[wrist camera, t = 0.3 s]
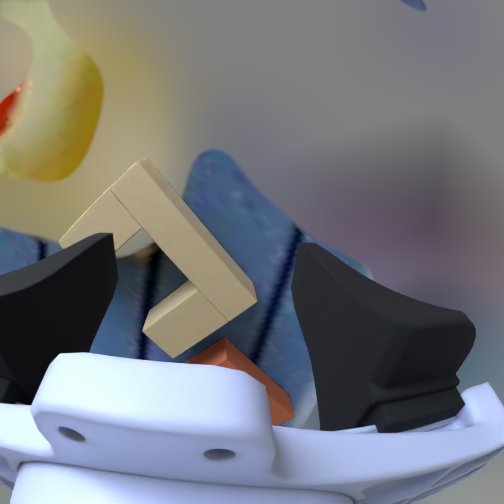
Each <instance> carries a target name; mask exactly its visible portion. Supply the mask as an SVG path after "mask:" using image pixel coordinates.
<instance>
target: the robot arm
mask: <svg viewBox="0 0 504 504" xmlns="http://www.w3.org/2000/svg"><path fill="white" fill-rule="evenodd" d="M118 279H119V277H118V270H117V263H116V255H115V247H114V238H113V233H101V232H99V233H96V234H93V235H91V236H88V237H86V238H84V239H82V240H80V241H78V242H76V243H74V244H72V245H71V246H69V247H67V248H65V249H63V250H61V251H59V252H57V253H55V254H53V255H51V256H49V257H47V258H45V259H43V260H41V261H38V262H36V263H34V264H31V265H29V266H26V267H24V268H21V269H18V270H15V271H12V272H9V273H6V274H2V275H0V484H2V485H4V486H6V487H8V488H10V489H12V490H13V493H12V497H11V501H10V504H412V503H414V502H417V501H419V500H421V499H424V498H426V497H428V496H430V495H432V494H435V493H437V492H439V491H441V490H443V489H445V488H447V487H450V486H452V485H454V484H456V483H458V482H460V481H462V480H464V479H465V478H467V477H469V476H471V475H473V474H475V473H476V472H478V471H479V470H480V469H481V468H483V467H484V466H485V465H486V464H488V463H489V462H490V461H491V460H493V459H494V458H495V457H496V456H497V455H498V454H500V453H501V452H502V451H503V450H504V406H503V405H502V403H501V402H500V400H499V398H498V397H497V395H496V393H495V392H494V390H493V389H492V387H491V386H490V384H489V383H487V382H486V383H483V384H480V385H477V386H474V387H471V388H468V389H466V390H464V391H463V392H462V393H459V392H458V390H457V388H456V386H457V385H458V384H459V379H458V377H457V376H456V372H457V371H458V369H459V368H460V366H461V365H462V363H463V362H464V360H465V359H466V357H467V355H468V354H469V352H470V350H471V348H472V346H473V343H474V340H475V337H476V329H475V327H474V325H473V323H472V322H471V321H470V320H469V318H468V317H467V316H466V315H465V314H464V313H463V312H462V311H457V310H453V309H448V308H443V307H438V306H435V305H431V304H428V303H424V302H421V301H418V300H415V299H413V298H410V297H407V296H405V295H402V294H400V293H397V292H395V291H393V290H391V289H388V288H386V287H384V286H382V285H380V284H378V283H376V282H375V281H373V280H371V279H369V278H367V277H366V276H364V275H362V274H361V273H359V272H358V271H356V270H354V269H353V268H351V267H350V266H348V265H347V264H345V263H344V262H342V261H341V260H340V259H338V258H337V257H335V256H334V255H332V254H331V253H330V252H328V251H327V250H325V249H324V248H322V247H321V246H319V245H317V244H315V243H302V242H299V247H298V252H297V258H296V263H295V269H294V274H293V279H292V285H291V290H292V296H293V302H294V308H295V311H296V314H297V317H298V321H299V324H300V327H301V330H302V333H303V336H304V339H305V342H306V345H307V348H308V352H309V356H310V359H311V364H312V370H313V375H314V381H315V388H316V395H317V402H318V410H319V418H320V430H321V431H317V430H307V429H297V428H289V427H281V426H273V425H272V421H271V413H270V406H269V400H268V396H267V392H266V388H265V385H263V384H262V383H260V382H259V381H257V380H256V379H255V378H253V377H252V376H250V375H249V374H247V373H246V372H244V371H240V370H235V369H230V368H225V367H220V366H215V365H201V364H184V363H171V362H159V361H148V360H139V359H130V358H121V357H114V356H106V355H99V354H93V353H89V351H90V348H91V345H92V343H93V340H94V338H95V335H96V333H97V331H98V329H99V326H100V324H101V322H102V320H103V318H104V316H105V313H106V311H107V309H108V307H109V305H110V303H111V300H112V298H113V295H114V292H115V289H116V285H117V282H118Z"/></svg>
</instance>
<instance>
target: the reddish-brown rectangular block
mask: <svg viewBox="0 0 504 504" xmlns="http://www.w3.org/2000/svg"><path fill="white" fill-rule="evenodd" d="M187 364H201V365H215V366H220V367H225V368H230V369H235V370H240V371H244V372H246V373H247V374H249V375H250V376H252V377H253V378H255V379H256V380H257V381H259V382H260V383H262V384H263V385H265V388H266V392H267V396H268V400H269V406H270V413H271V421H272V425H273V426H278V425H280V424H282V423H283V422H285V421H287V420H289V419H291V418H293V417H295V414H294V411H293V407H292V404H291V400H290V397H289V394H287V393H286V392H285V391H284V390H283V389H282V388H281V387H279V386H278V385H277V384H276V383H275V382H274V381H273V380H271V379H270V378H269V377H268V376H267V375H266V374H265V373H264V372H263V371H261V370H260V369H259V368H258V367H257V366H256V365H255V364H254V363H253V362H252V361H251V360H249V359H248V358H247V357H246V356H245V355H244V354H243V353H242V352H241V351H240V350H239V349H238V348H237V347H236V346H234V345H233V344H232V343H231V342H230V341H229V340H228V339H227V338H226V337H223V338H222V339H220V340H219V341H217V342H216V343H214V344H213V345H211V346H210V347H208V348H207V349H205V350H204V351H202V352H201V353H199V354H197V355H196V356H194V357H193V358H191V359H190V360H188V361H187Z"/></svg>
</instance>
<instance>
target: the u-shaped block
mask: <svg viewBox="0 0 504 504" xmlns="http://www.w3.org/2000/svg"><path fill="white" fill-rule="evenodd" d="M141 228H143V229H144V230H145V231H146V232H147V233H148V234H149V236H150V237H151V238H152V239H153V240H154V241H155V242H156V244H157V245H158V246H159V247H160V248H161V249H162V250H163V251H164V253H165V254H166V255H167V256H168V257H169V258H170V259H171V260H172V261H173V263H174V264H175V265H176V266H177V267H178V268H179V269H180V270H181V271H182V272H183V273H184V274H185V276H186V277H187V278H188V279H189V280H188V281H187V282H185V283H184V284H183V285H182V286H180V287H179V288H178V289H176V290H175V291H174V292H172V293H171V294H170V295H169V296H167V297H166V298H165V299H163V300H162V301H161V302H159V303H158V304H157V305H156V306H154V307H153V308H152V309H150V310H149V313H148V316H147V319H146V321H145V324H144V327H143V332H144V333H145V334H146V335H147V336H148V337H149V338H150V339H151V340H152V341H153V342H154V343H156V344H157V345H158V346H159V347H160V348H161V349H162V350H163V351H165V352H166V353H167V354H168V355H169V356H170V357H171V358H173V359H174V358H175V357H177V356H178V355H180V354H181V353H183V352H184V351H186V350H187V349H189V348H190V347H192V346H193V345H195V344H196V343H198V342H199V341H201V340H202V339H204V338H205V337H207V336H208V335H210V334H211V333H213V332H214V331H216V330H217V329H219V328H220V327H222V326H223V325H225V324H226V323H228V322H229V321H231V320H232V319H233V318H235V317H236V316H238V315H239V314H241V313H242V312H244V311H245V310H246V309H248V308H249V307H251V306H252V305H254V304H255V303H257V297H256V293H255V290H254V286H253V282H252V281H251V280H250V279H249V277H248V276H247V275H246V274H245V273H244V272H243V271H242V269H241V268H240V267H239V266H238V265H237V264H236V262H235V261H234V260H233V259H232V258H231V257H230V255H229V254H228V253H227V252H226V251H225V249H224V248H223V247H222V246H221V245H220V244H219V242H218V241H217V240H216V239H215V238H214V237H213V235H212V234H211V233H210V232H209V231H208V229H207V228H206V227H205V226H204V225H203V223H202V222H201V221H200V220H199V219H198V218H197V216H196V215H195V214H194V213H193V212H192V210H191V209H190V208H189V207H188V206H187V204H186V203H185V202H184V201H183V200H182V198H181V197H180V196H179V195H178V194H177V193H176V191H175V190H174V189H173V188H172V186H171V185H170V184H169V183H168V182H167V180H166V179H165V178H164V177H163V176H162V174H161V173H160V172H159V171H158V170H157V168H156V167H155V166H154V165H153V163H152V162H151V161H150V160H149V159H144V160H141V161H137V162H136V163H135V164H134V165H133V166H132V167H131V168H129V169H128V170H127V171H126V172H125V173H124V174H123V175H122V176H121V177H120V178H119V179H118V180H117V181H116V182H114V184H112V185H111V186H110V188H109V189H107V190H106V191H105V192H104V193H103V194H102V195H101V196H100V197H99V198H98V199H97V200H96V201H95V202H94V204H92V205H91V207H90V208H89V209H88V210H87V211H86V212H85V213H84V214H83V215H82V216H81V217H80V218H79V219H78V220H77V221H76V223H75V224H74V225H73V226H72V227H71V228H70V229H69V230H68V231H67V233H66V234H65V235H64V236H63V237H62V238H61V239H60V240H59V242H58V243H59V245H60V246H61V247H62V248H63V249H65V248H67V247H69V246H71V245H72V244H74V243H76V242H78V241H80V240H82V239H84V238H86V237H88V236H91V235H93V234H96V233H99V232H101V233H113V238H114V247H115V252H116V251H117V250H118V249H119V248H120V247H121V246H122V245H124V244H125V243H126V242H127V241H128V240H129V239H130V238H131V237H132V236H134V235H135V234H136V233H137V232H138V231H139V230H140V229H141Z"/></svg>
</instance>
